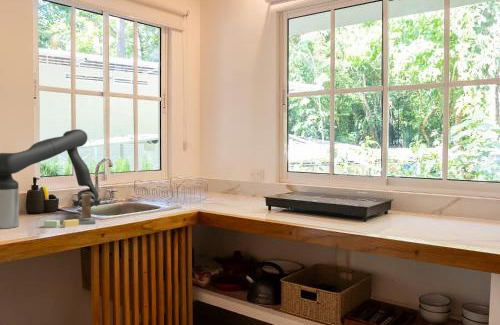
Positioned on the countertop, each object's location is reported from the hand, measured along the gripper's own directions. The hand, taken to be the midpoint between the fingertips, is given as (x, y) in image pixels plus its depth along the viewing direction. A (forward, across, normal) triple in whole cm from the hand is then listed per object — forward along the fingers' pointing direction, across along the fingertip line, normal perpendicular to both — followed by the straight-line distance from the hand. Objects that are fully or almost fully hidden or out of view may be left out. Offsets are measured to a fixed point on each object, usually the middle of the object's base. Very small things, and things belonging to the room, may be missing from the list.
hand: (86, 204), depth 208 cm
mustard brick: (+4, -6, +9) cm, 12 cm away
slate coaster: (-3, 0, +9) cm, 9 cm away
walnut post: (-3, 0, +6) cm, 7 cm away
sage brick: (+3, -14, +9) cm, 17 cm away
